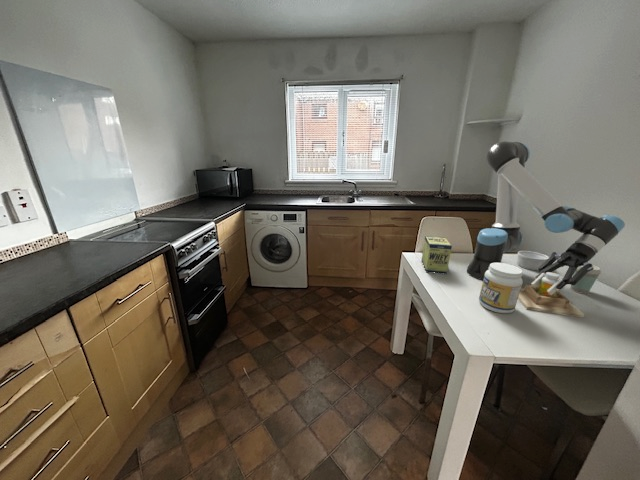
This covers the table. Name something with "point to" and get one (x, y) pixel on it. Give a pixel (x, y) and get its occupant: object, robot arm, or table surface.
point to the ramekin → (530, 259)
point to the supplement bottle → (548, 284)
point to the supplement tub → (501, 287)
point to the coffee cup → (586, 280)
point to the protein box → (436, 254)
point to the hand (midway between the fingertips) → (541, 289)
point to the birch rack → (547, 302)
